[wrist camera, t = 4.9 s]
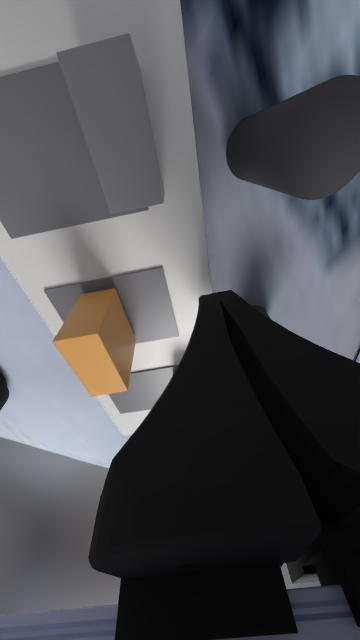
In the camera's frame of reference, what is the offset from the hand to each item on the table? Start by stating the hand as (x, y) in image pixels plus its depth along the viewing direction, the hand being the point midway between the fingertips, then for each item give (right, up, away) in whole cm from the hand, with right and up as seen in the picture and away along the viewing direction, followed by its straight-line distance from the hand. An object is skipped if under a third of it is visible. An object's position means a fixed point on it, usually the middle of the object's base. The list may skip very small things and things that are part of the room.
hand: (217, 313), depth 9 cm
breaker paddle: (-5, 0, +1) cm, 5 cm away
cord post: (+2, +8, +1) cm, 8 cm away
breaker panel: (-4, +2, +5) cm, 7 cm away
